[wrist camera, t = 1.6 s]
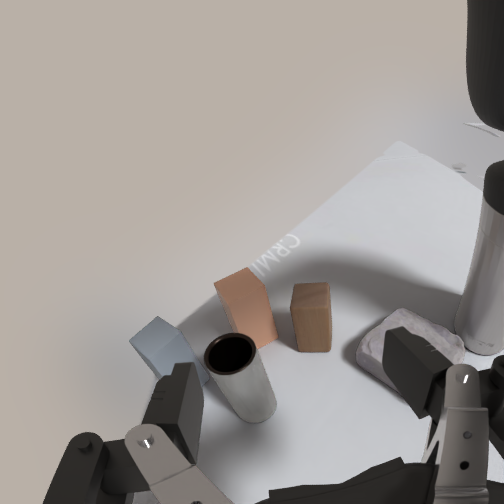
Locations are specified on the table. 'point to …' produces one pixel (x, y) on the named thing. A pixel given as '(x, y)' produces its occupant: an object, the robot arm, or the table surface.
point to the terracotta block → (247, 306)
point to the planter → (241, 376)
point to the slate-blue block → (165, 349)
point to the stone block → (435, 334)
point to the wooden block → (312, 316)
